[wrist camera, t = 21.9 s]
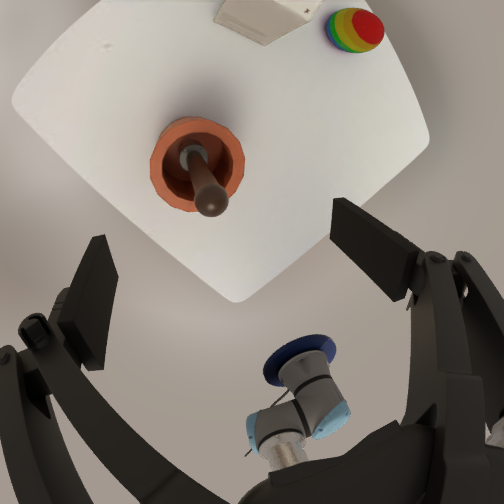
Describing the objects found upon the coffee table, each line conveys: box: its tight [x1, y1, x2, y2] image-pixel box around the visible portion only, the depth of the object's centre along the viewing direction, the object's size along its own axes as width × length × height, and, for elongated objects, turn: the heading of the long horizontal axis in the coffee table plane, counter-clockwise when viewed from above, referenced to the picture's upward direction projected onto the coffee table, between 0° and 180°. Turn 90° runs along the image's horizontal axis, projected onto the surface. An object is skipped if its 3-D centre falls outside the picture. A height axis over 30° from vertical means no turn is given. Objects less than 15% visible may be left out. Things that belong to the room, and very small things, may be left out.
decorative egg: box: [326, 8, 384, 53], centre depth 29 cm, size 8×8×10 cm
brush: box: [178, 139, 229, 217], centre depth 28 cm, size 4×4×23 cm
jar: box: [150, 117, 245, 212], centre depth 33 cm, size 10×10×12 cm
